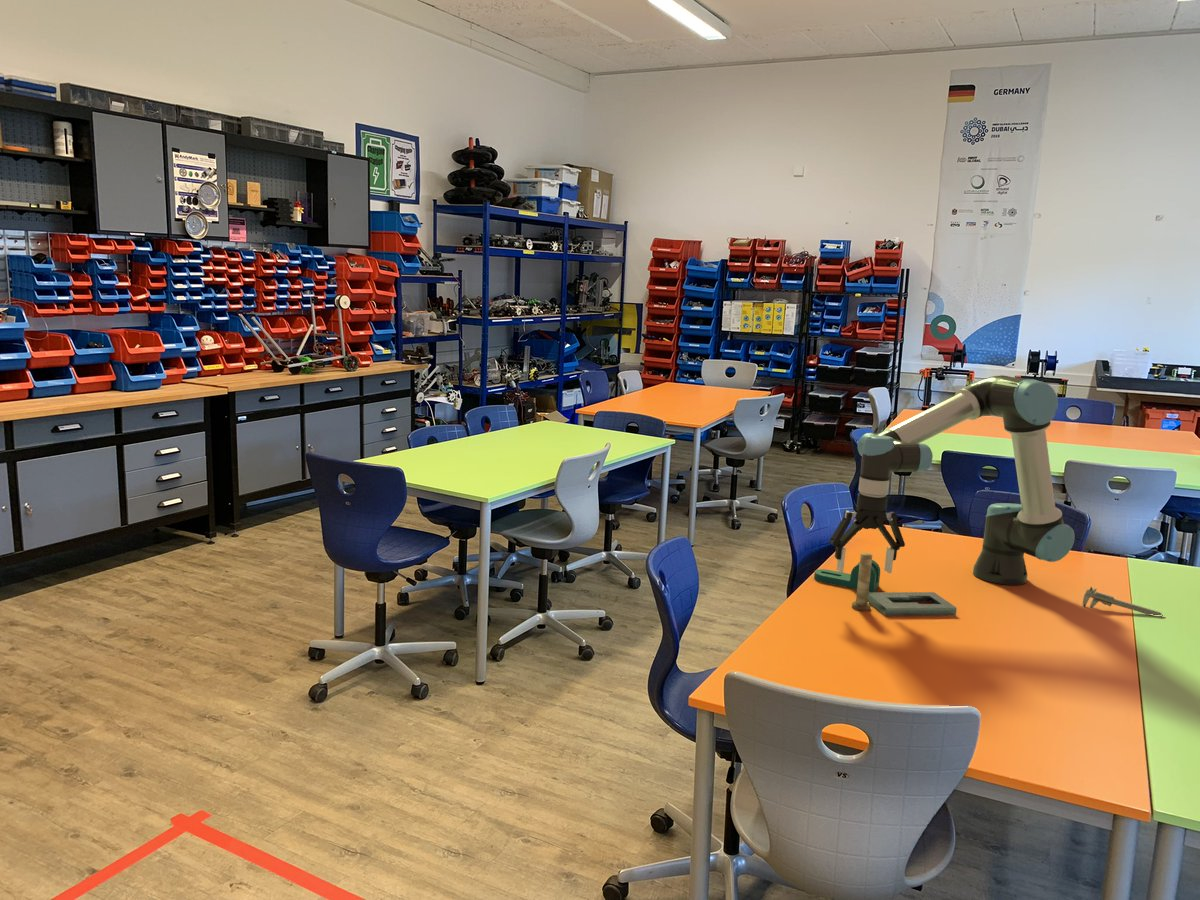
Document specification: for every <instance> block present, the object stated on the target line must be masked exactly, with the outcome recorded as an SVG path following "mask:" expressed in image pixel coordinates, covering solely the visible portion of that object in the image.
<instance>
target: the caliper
mask: <svg viewBox="0 0 1200 900" xmlns="http://www.w3.org/2000/svg"><path fill="white" fill-rule="evenodd" d="M1082 598H1083V600H1082V606H1083V607H1084V608H1086V606H1087V604H1088V602H1089V599H1090V598H1092V600H1091V601H1090V604H1089V606H1088V607H1089V609H1093V608H1094V607H1095V606H1096V605H1097V603H1099V602H1100V603H1101V604H1103V605H1105V606H1106V605H1107V606H1108V607H1111V606H1112V605H1115V606H1118V607H1121V608H1124V609H1127V610H1132V611H1133V612H1134V611H1135V612H1138V613H1141V614H1145V615H1148V614H1153V615H1162V616H1163V615H1164V614H1162V612H1161V611H1158V610H1155V609H1151V608H1147V607H1144V606H1140V605H1138V604H1134V603H1131V602H1127V601H1125V600H1124V601H1123V600H1120V599H1118V598H1115V597H1114V596H1112V595H1109V594H1106V593H1103V592H1098V591H1097V587H1094V588H1093V587H1092V586H1090V588H1089V589H1088V588H1087V589H1086V591H1085V592H1084V594H1083V597H1082Z"/></svg>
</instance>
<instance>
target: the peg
mask: <svg viewBox="0 0 1200 900" xmlns="http://www.w3.org/2000/svg"><path fill="white" fill-rule="evenodd" d="M872 560H873V554H872V553H868V552H862V553H860V556H859V562H860V566H859V576H858V585H857V589H856V595H855V601H853V602H852V603H851V608H852V609H853V610H855V611H859V612H869V611H870V610H871V607H872V605H871V604H870V603H868V593H869V583H870V574H871V564H872Z"/></svg>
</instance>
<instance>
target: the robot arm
mask: <svg viewBox="0 0 1200 900" xmlns="http://www.w3.org/2000/svg"><path fill="white" fill-rule="evenodd" d="M1058 401H1059V399H1058V396H1057V393H1056V391H1055V390H1054V388H1053V387H1052V386H1051V385H1049V384H1048V383H1047V382H1044V381H1040V380H1038V379H1034V378H1024V377H1023V378H1022V377H1015V376H1009V375H1002V374H1001V375H993V376H989V377H985V378H983V379H980V380H977V381H974V382H973V383H970V384H968V385H966V386H964V387H962V388H960V389H957V391H956V392H955V394H954V396H952V397H950V398H948V399H945V400H944V401H942V402H939V403H938V404H936V405H934V406H931V407H930V408H928V409H926V410H924V411H922V412H919V413H917V414H916V415H914V416H911V417H910V418H907V419H905V420H903V421H902V422H900V423H898V424H895V425H894V426H892V427H890V428H888V429H886V430H883V431H881V432H878V433H876V432H867V433H864V434H863V435H862V436H861V437H860V438H859V440H858V441H857V451H858V453H859V455H860V456H861V464H860V473H859V474H860V476H859V480H858V481H859V482H858V491H859V492H858V493H857V497H856V498H857V499H856V509H855V512H854V511H850V510H848V509H847V510H846V509H845V510H844V512H843V515H842V519H841V520H840V523H839V524H838V526H837V527H836V529H835V531H834V532H833V534H832V535H831V537H830V539H829V544H831V545H832V546H833V547H835V552H834V557H835V559H836V560H837V562H836V571H837V572H840V573H844V567H845V559H846V552H847V551H846V550H847V548H845V546H846V545H847V544H848V543H849V541H850V540H852V539H853V538H854V536H856V534H858V532H860V531H861V530H863V529H865V530H869V529H872V530H877V529H878V531H879V532H880V533H881V535H882V536H883V537H884V539H885V540H886V542H887V543H888V544H889V546H887V547H886V551H885V552H886V553H885V560H884V571H885V572H887V573H888V574H892V573H893V564H894V561H896V559H897V555H898V551H899V550H900V549H901V548H904V547H905V546H906V543H905V540H904V537H903V535H902V532H901V530H900V529H901V528H900V526H899V523H898V515H897V513H895V512H894V511H892V510H890V511H888V512H886V510H887V506H888V496H887V495H888V494H889V487H890V481H891V474H892V473H897V472H899V473H903V472H904V473H907V472H909V473H911V472H912V473H913V472H914V473H918V472H925V471H927V470H928V469H929V468H930V467H931V466H932V463H933V457H934V455H933V451H932V449H931V447H930V446H929V445H927V444H926V443H922V442H925V441H926V440H929V439H931V438H933V437H935V436H937V435H939V434H941V433H943V432H945V431H948V430H949V429H951V428H953V427H955V426H957V425H959V424H961V423H963V422H966V421H968V420H971V421H974V420H977V419H979V418H980V417H981V418H982V417H987V416H992V417H993V416H994V417H998V418H1002V421H1003V427H1004V430H1005V432H1008V433H1009V434H1010V435H1011V441H1012V447H1013V455H1014V456H1013V457H1014V462H1015V470H1016V476H1017V485H1018V491H1019V496H1020V497H1019V499H1020V503H1009V502H1008V503H1006V502H1005V503H1004V502H1003V503H1002V502H1000V503H999V502H998V503H992V504H990V505H988V508H987V511H986V515H985V521H984V528H983V529H984V530H983V531H984V532H983V539H982V540H983V541H982V547H981V548H982V549H981V551H980V553H979V555H978V557H977V559H976V560H975V561H976V562H975V563H974V565H973V568H972V574H973V575H974V577H976V578H978V579H981V580H983V581H986V582H988V583H989V582H990V583H994V584H999V585H1005V586H1006V585H1007V586H1018V585H1019V586H1020V585H1024V584H1026V583H1027V581H1028V571H1027V566H1026V561H1025V557H1024V556H1025V554H1027V555H1029V556H1031V557H1034V558H1036V559H1037V560H1039V561H1045V562H1049V563H1054V562H1058V561H1060V560H1062V559H1063V558H1065V557H1066V556H1067V555H1068V554H1069V553H1070V551H1071V550H1072V548H1073V546H1074V542H1075V537H1076V536H1075V531H1074V529H1073V528H1072V527H1071V526H1070V525H1069V524H1066V523H1064V516H1063V512H1062V510H1061V509H1060V508H1058V507H1056V503H1055V502H1056V501H1055V496H1054V486H1053V479H1052V471H1051V464H1050V463H1051V462H1050V456H1049V449H1048V442H1047V441H1048V440H1047V433H1046V430H1047V429H1048V428H1050V426H1051V424H1052V423H1051V421H1052V420H1053V419H1054V418H1055V416H1056V411H1058V407H1059V402H1058ZM854 518H855V520H854ZM886 519H887V520H888V523H889V525H890V529H891V531H892V533H893V536H892V535H891V534H890V531H889V530H888V529H887V527H886V526H885V524H884V521H885V520H886ZM853 520H854V522H853V523H852V524H851V522H852V521H853ZM850 524H851V526H850ZM849 526H850V527H849ZM893 537H894V538H893Z"/></svg>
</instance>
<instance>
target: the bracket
mask: <svg viewBox="0 0 1200 900" xmlns="http://www.w3.org/2000/svg"><path fill="white" fill-rule="evenodd" d="M859 566H860V561H859V562H858V563H857V564H855V566H854V567H853V568H852V569H851V573H848V572H847V573H846V572H843V573H840V572H839V571H838V570H832V569H827V568H826V569H825V568H822V569H821V568H819V569H816V570H814V576H813V579H814V580H815V581H817V582H819V583H822V584H829V585H832V586H838V587H842V588H848V589H853V590H857V585H858V576H859ZM880 580H881V567H880V565H879V564H878V562H876V561H875V560H874V559H872V564H871V574H870V583H869V592H876V590H877V589H878V588H879V587H880Z"/></svg>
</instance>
